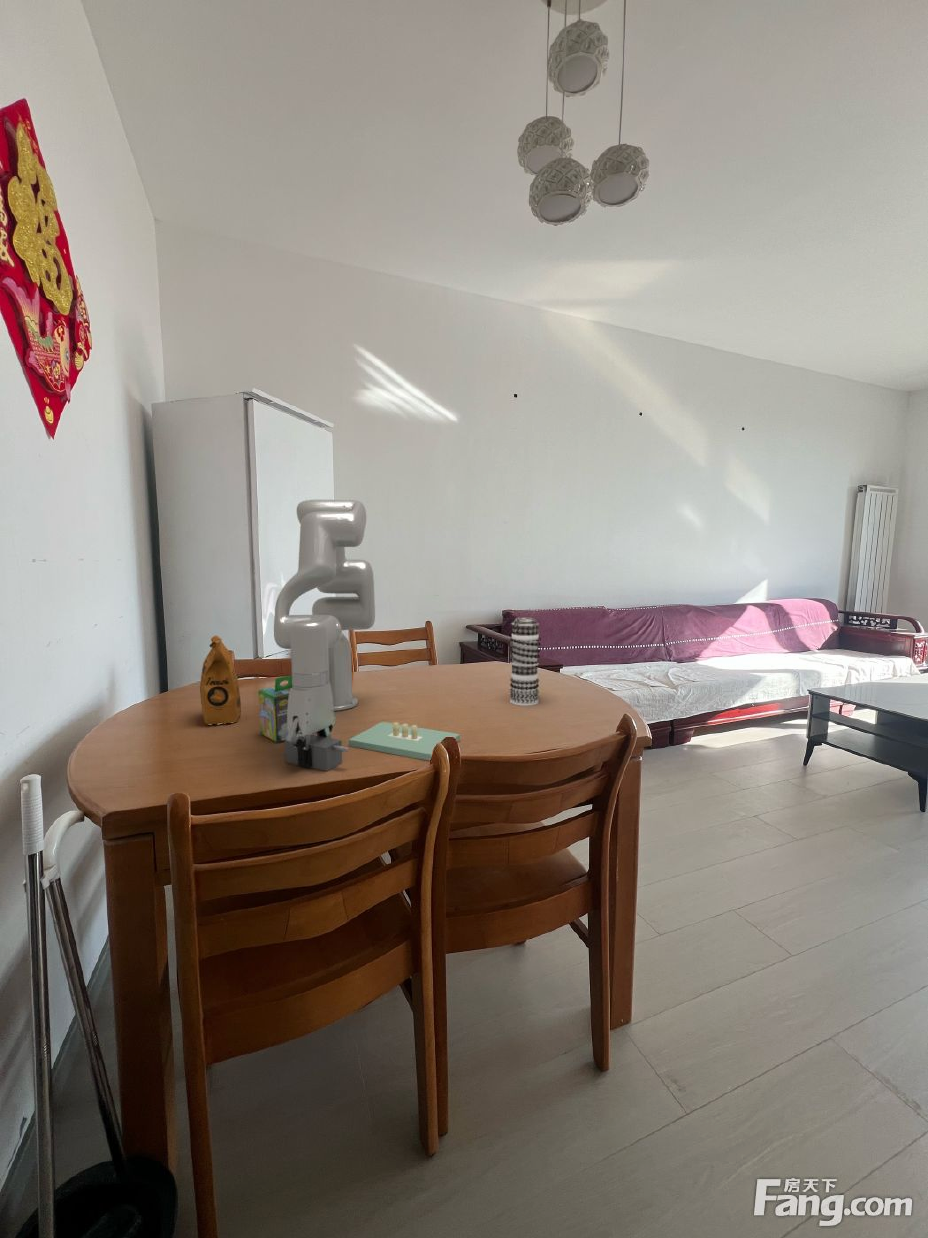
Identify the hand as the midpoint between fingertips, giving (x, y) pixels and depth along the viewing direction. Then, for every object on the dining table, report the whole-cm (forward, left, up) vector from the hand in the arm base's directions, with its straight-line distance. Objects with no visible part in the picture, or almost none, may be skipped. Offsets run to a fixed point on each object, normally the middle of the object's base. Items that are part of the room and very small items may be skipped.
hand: (314, 760), depth 116 cm
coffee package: (-42, +13, -1) cm, 44 cm away
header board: (+12, +18, 0) cm, 22 cm away
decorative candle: (+27, +62, -1) cm, 68 cm away
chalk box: (-18, +11, -1) cm, 21 cm away
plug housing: (+2, 0, 0) cm, 2 cm away
